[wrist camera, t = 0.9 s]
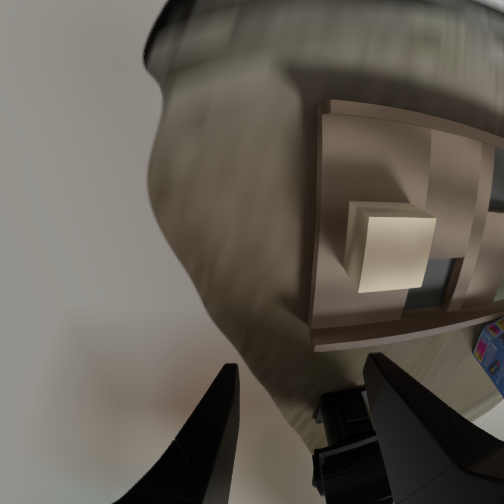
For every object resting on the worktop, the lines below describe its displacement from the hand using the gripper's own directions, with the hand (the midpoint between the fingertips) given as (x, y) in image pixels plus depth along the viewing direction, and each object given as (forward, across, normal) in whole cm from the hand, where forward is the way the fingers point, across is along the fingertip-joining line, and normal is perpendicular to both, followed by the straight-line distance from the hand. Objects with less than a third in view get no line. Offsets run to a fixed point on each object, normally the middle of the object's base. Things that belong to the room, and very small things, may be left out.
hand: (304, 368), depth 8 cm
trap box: (+13, -18, 0) cm, 22 cm away
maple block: (+12, -8, 0) cm, 14 cm away
